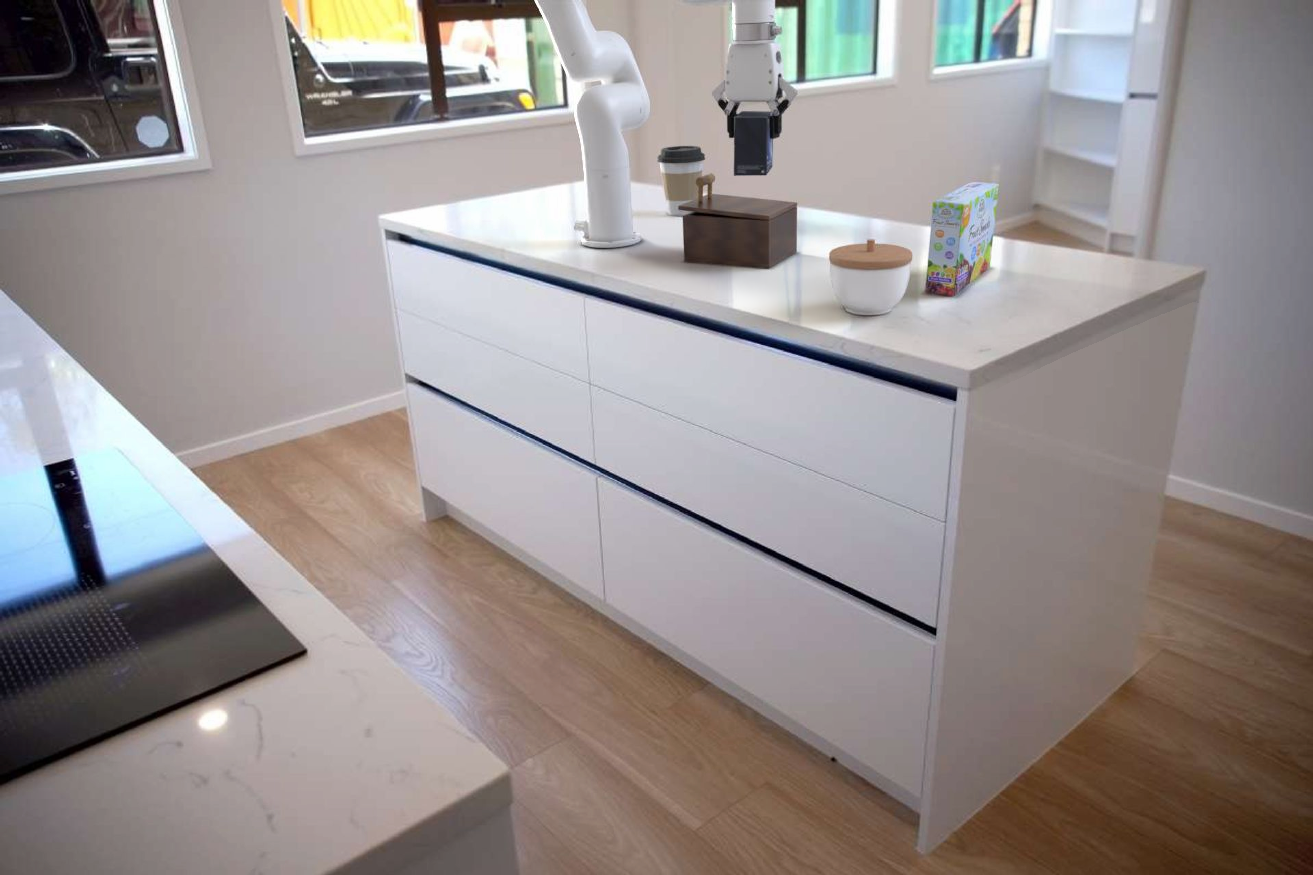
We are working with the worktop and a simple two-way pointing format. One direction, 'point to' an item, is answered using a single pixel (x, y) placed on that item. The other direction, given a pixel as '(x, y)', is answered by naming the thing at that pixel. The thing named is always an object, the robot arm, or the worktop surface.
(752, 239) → the chest
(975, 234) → the snack box
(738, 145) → the small box
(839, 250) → the lidded bowl
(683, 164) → the coffee cup
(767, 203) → the lid
